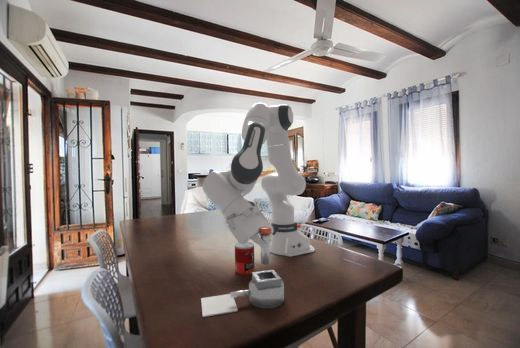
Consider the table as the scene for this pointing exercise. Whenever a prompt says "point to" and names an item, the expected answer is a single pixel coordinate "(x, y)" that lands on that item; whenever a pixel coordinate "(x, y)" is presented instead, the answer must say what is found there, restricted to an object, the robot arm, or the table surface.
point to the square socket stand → (264, 290)
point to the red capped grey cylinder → (265, 251)
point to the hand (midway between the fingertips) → (267, 244)
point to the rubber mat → (218, 305)
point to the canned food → (244, 258)
